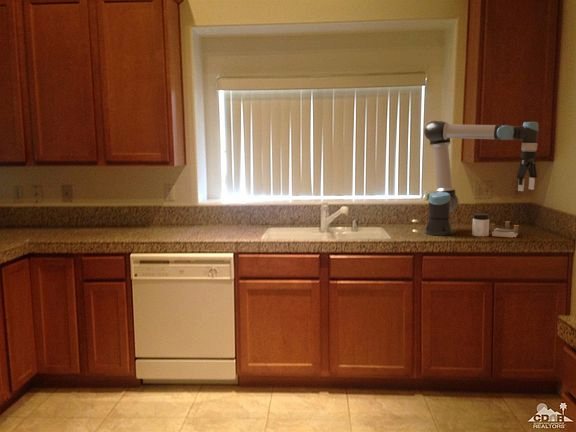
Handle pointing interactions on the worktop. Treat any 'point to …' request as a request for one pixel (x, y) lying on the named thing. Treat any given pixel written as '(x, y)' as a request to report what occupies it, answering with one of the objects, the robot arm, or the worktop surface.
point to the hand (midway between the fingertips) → (526, 190)
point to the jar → (480, 224)
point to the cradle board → (504, 231)
